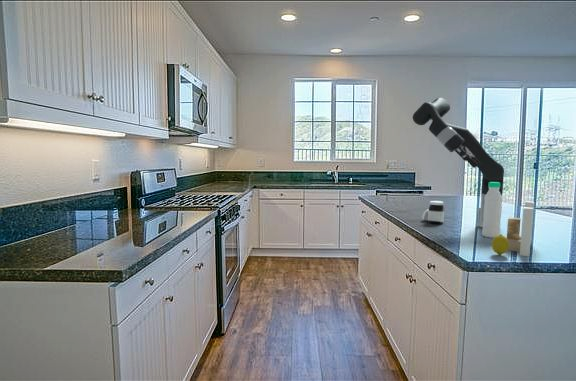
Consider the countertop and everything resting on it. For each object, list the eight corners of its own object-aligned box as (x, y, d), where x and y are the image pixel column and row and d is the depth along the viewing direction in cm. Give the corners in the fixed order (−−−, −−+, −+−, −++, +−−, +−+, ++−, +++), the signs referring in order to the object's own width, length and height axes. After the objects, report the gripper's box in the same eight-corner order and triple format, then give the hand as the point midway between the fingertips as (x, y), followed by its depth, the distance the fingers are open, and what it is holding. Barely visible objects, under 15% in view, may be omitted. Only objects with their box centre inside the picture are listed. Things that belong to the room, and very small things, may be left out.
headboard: (504, 252, 137) (507, 206, 135) (508, 241, 154) (511, 200, 152) (529, 256, 132) (533, 208, 130) (530, 243, 150) (534, 201, 148)
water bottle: (497, 235, 165) (501, 181, 162) (501, 238, 158) (505, 183, 155) (480, 234, 167) (484, 181, 164) (483, 237, 160) (487, 182, 157)
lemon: (487, 253, 136) (489, 232, 135) (501, 252, 137) (502, 232, 136) (497, 257, 131) (498, 236, 130) (511, 257, 131) (513, 236, 130)
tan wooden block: (505, 247, 144) (508, 218, 143) (507, 245, 147) (509, 217, 146) (519, 249, 141) (521, 219, 140) (520, 247, 145) (522, 218, 143)
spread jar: (441, 225, 187) (442, 203, 185) (419, 222, 193) (420, 201, 191) (445, 221, 197) (446, 200, 195) (424, 219, 203) (425, 199, 201)
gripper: (453, 132, 149) (483, 160, 143) (460, 133, 160) (487, 159, 155) (439, 145, 152) (467, 172, 147) (447, 145, 164) (473, 171, 159)
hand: (477, 165), depth 151 cm, fingers open, 8 cm apart
